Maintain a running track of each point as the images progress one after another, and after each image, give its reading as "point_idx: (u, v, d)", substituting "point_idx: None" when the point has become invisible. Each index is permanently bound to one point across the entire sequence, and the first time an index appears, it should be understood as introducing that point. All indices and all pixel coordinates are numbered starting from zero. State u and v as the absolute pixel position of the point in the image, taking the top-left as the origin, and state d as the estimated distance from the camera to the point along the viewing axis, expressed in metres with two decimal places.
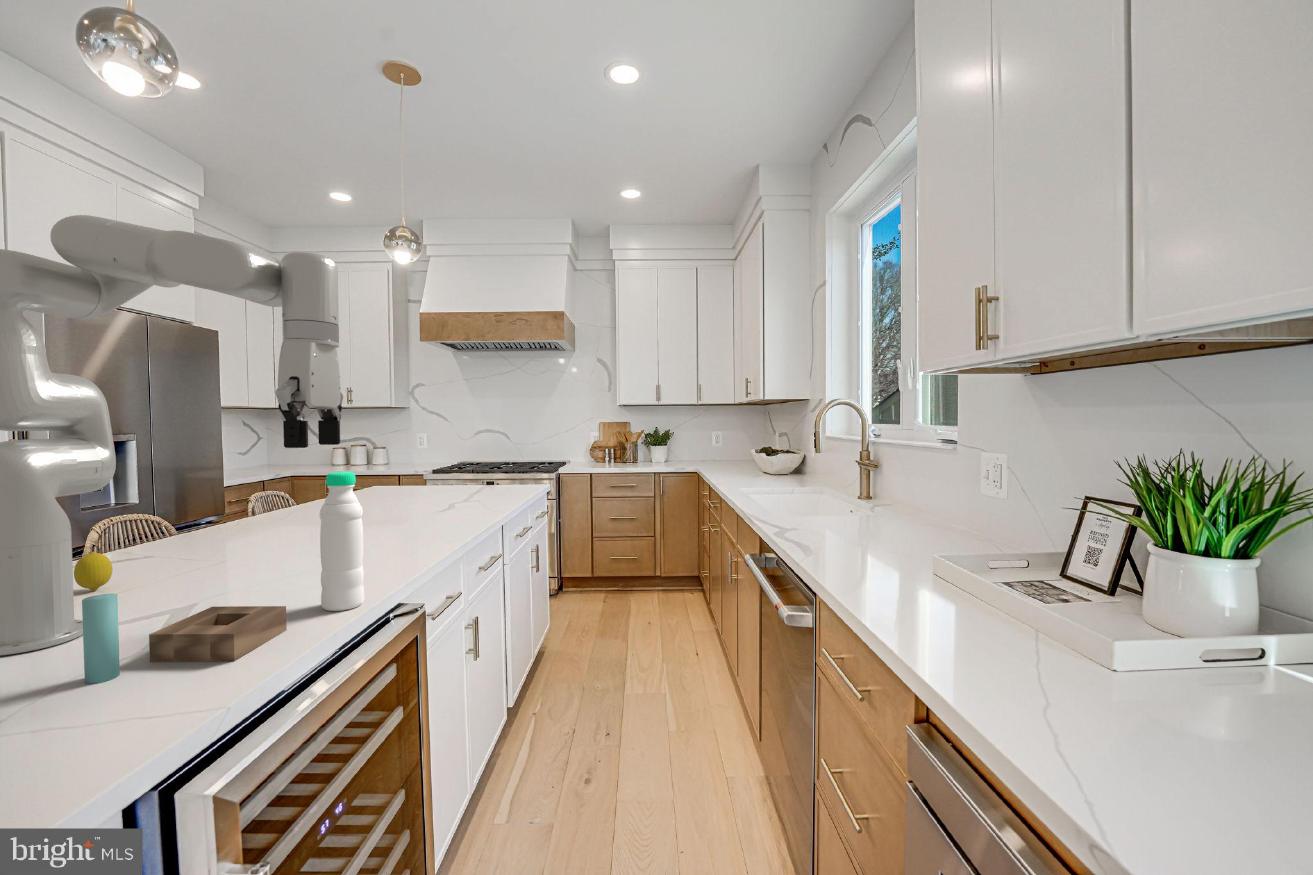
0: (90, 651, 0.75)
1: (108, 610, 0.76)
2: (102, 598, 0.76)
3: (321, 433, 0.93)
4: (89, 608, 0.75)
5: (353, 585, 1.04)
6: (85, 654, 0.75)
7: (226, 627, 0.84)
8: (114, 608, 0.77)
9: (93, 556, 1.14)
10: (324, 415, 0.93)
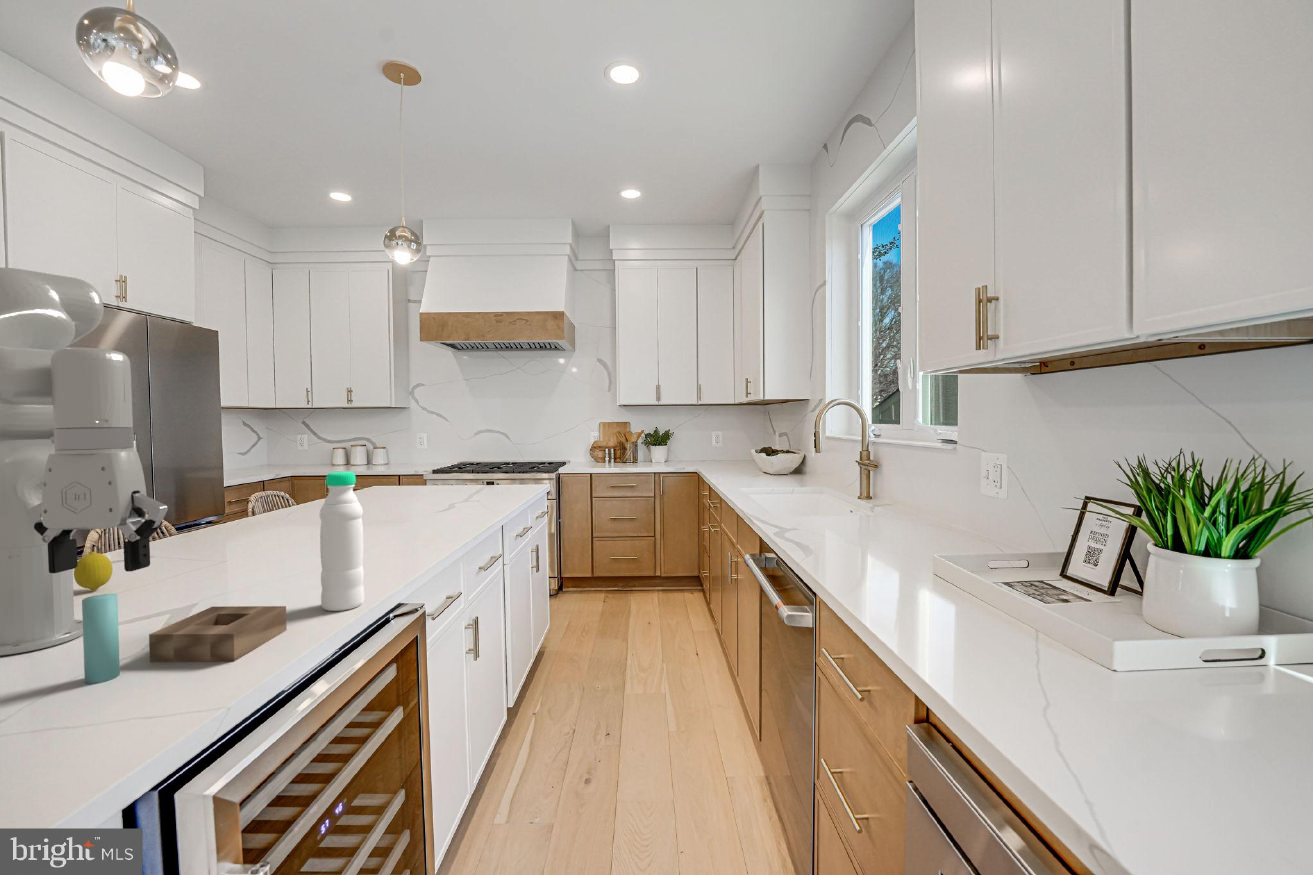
0: (90, 651, 0.75)
1: (109, 610, 0.76)
2: (102, 598, 0.76)
3: (58, 558, 0.75)
4: (89, 608, 0.75)
5: (353, 585, 1.04)
6: (85, 654, 0.75)
7: (226, 627, 0.84)
8: (114, 608, 0.77)
9: (93, 556, 1.14)
10: None
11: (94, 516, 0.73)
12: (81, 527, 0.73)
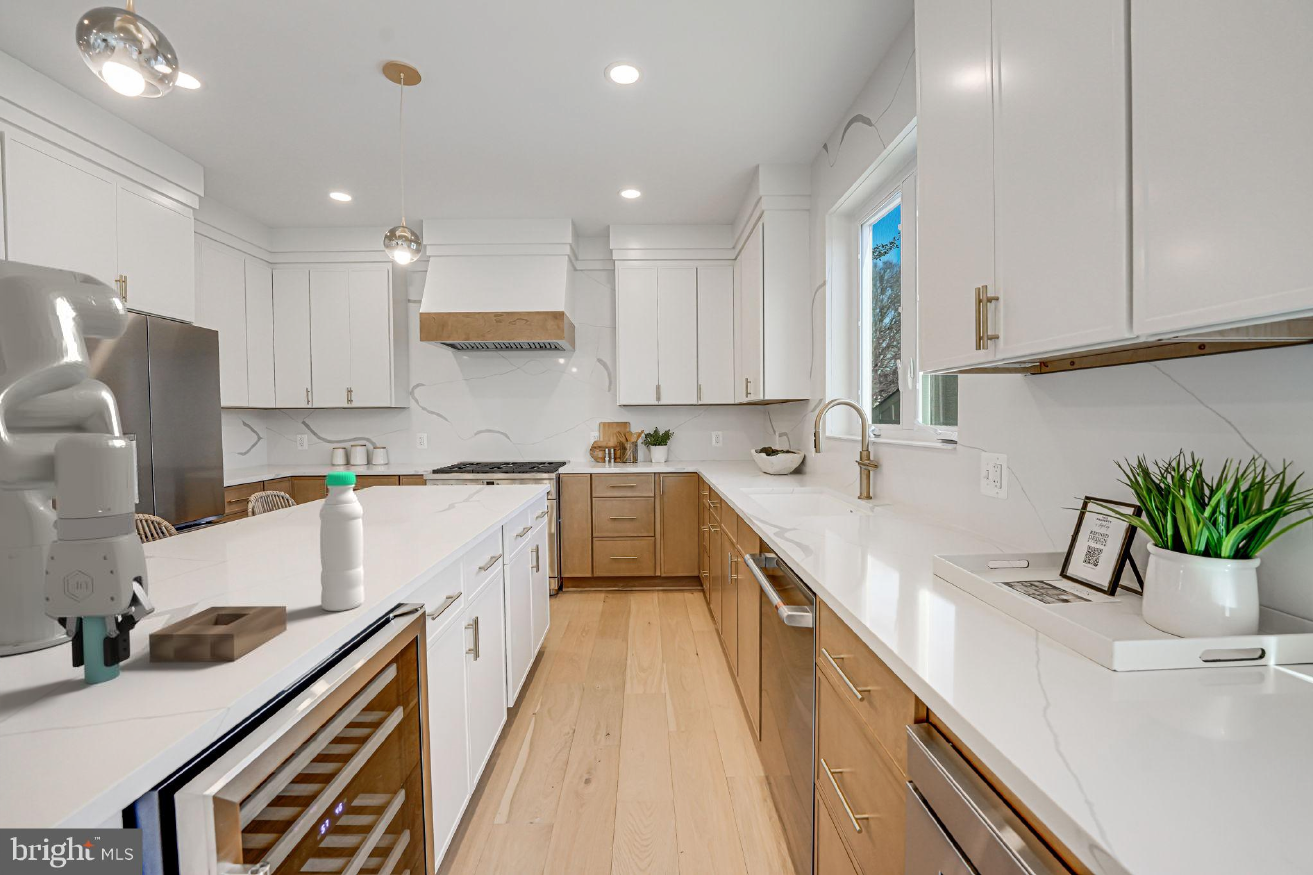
0: (90, 651, 0.75)
1: None
2: None
3: (81, 652, 0.75)
4: None
5: (353, 585, 1.04)
6: (85, 654, 0.75)
7: (226, 627, 0.84)
8: None
9: None
10: None
11: (96, 604, 0.74)
12: (83, 615, 0.74)
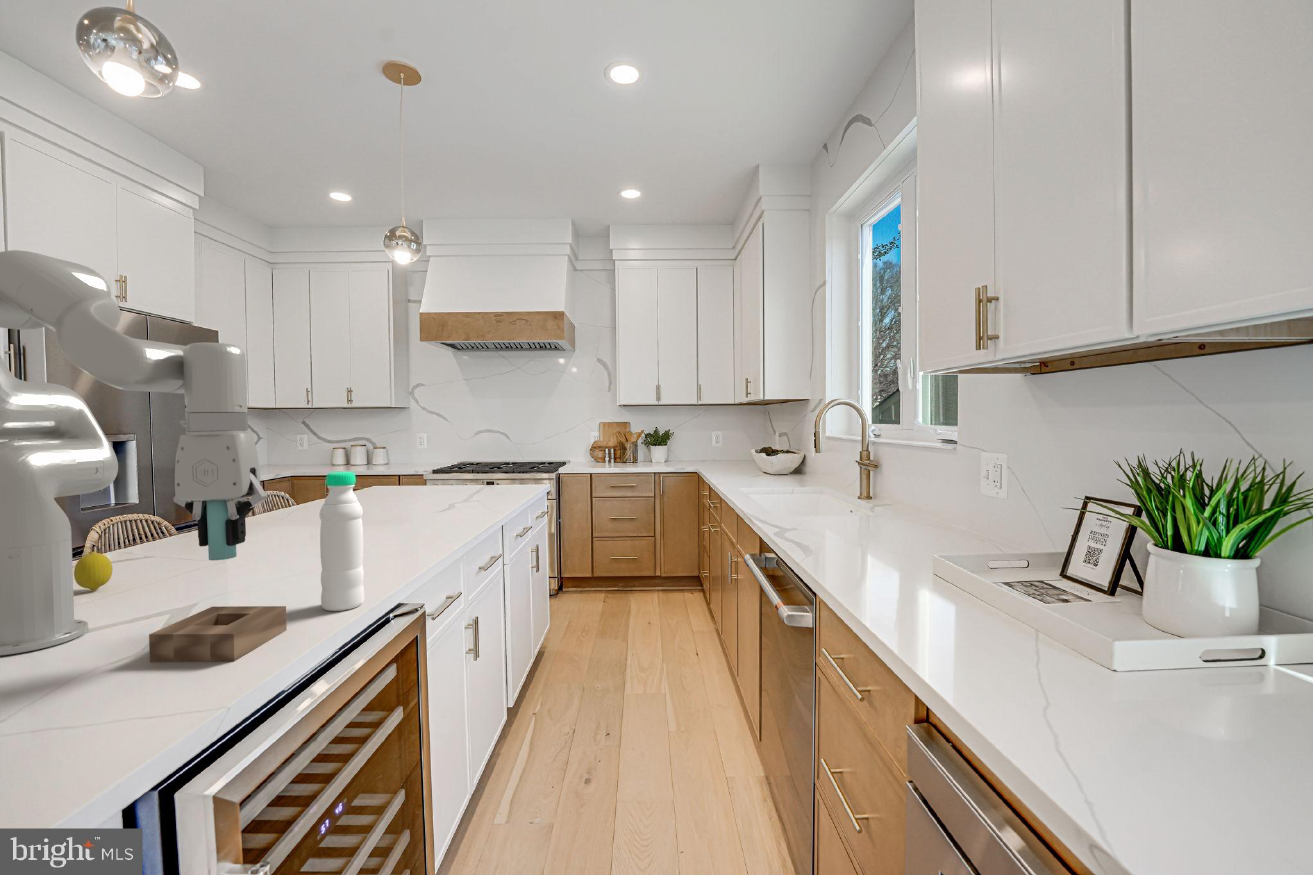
0: (214, 531, 0.85)
1: None
2: None
3: (206, 533, 0.86)
4: None
5: (353, 585, 1.04)
6: (209, 534, 0.86)
7: (226, 627, 0.84)
8: None
9: (93, 556, 1.14)
10: (202, 512, 0.86)
11: (220, 489, 0.84)
12: (209, 498, 0.84)
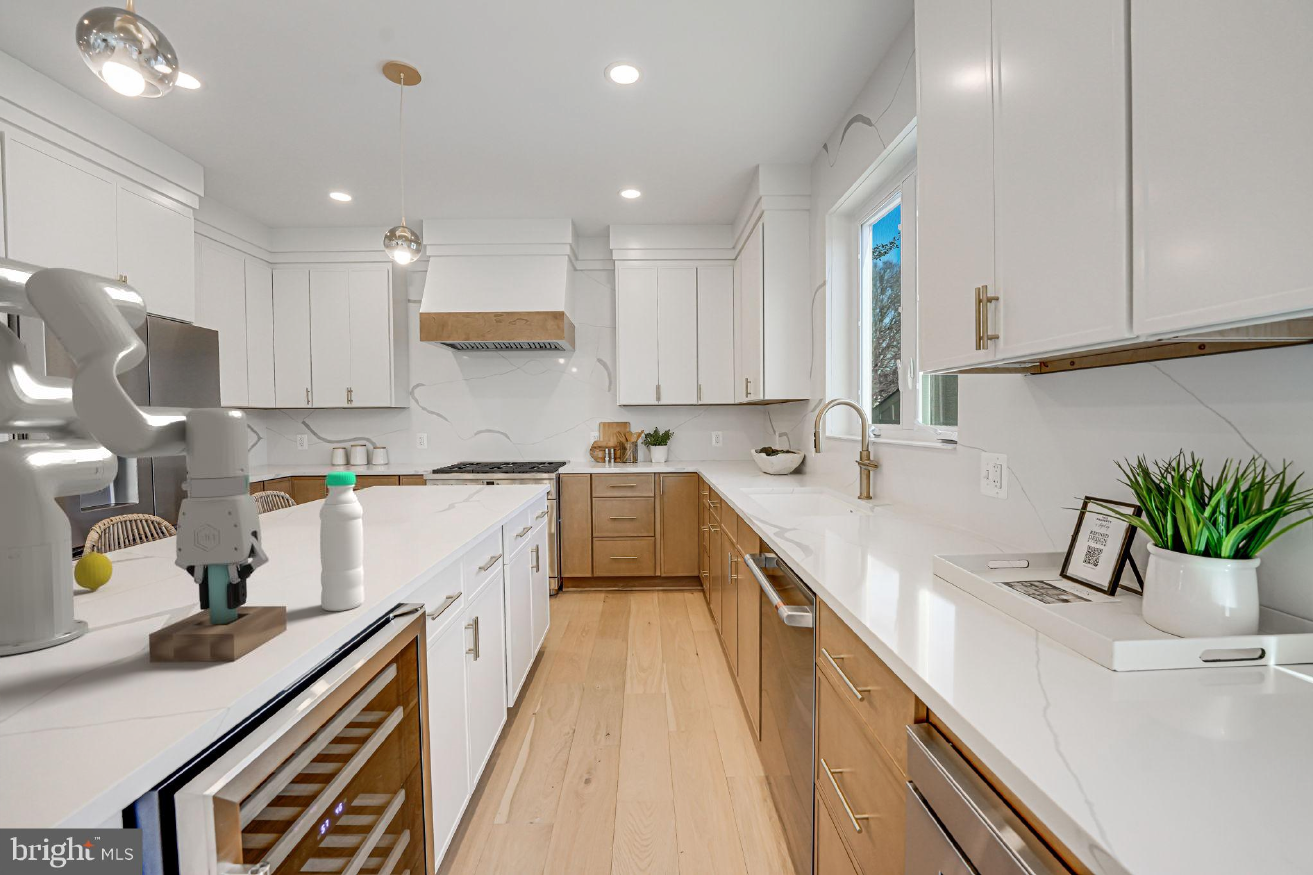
0: (215, 595, 0.86)
1: None
2: None
3: (207, 597, 0.87)
4: None
5: (353, 585, 1.04)
6: (211, 598, 0.86)
7: (226, 627, 0.84)
8: None
9: (93, 556, 1.14)
10: None
11: (222, 554, 0.85)
12: (211, 563, 0.85)
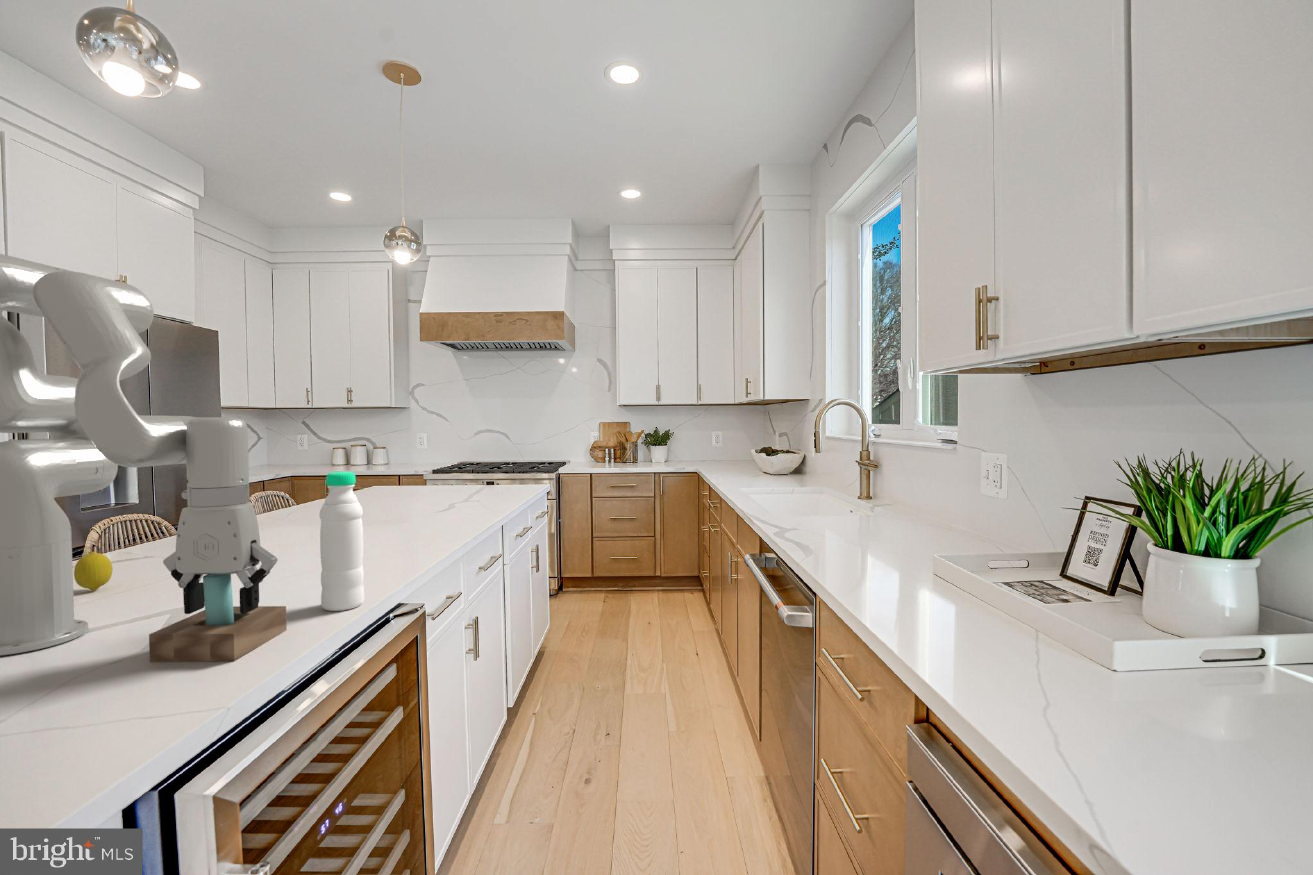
0: (212, 621, 0.86)
1: (225, 585, 0.87)
2: (219, 575, 0.87)
3: (191, 601, 0.87)
4: (210, 583, 0.86)
5: (353, 585, 1.04)
6: (208, 624, 0.86)
7: (226, 627, 0.84)
8: (229, 583, 0.88)
9: (93, 556, 1.14)
10: None
11: (221, 563, 0.85)
12: (209, 572, 0.85)
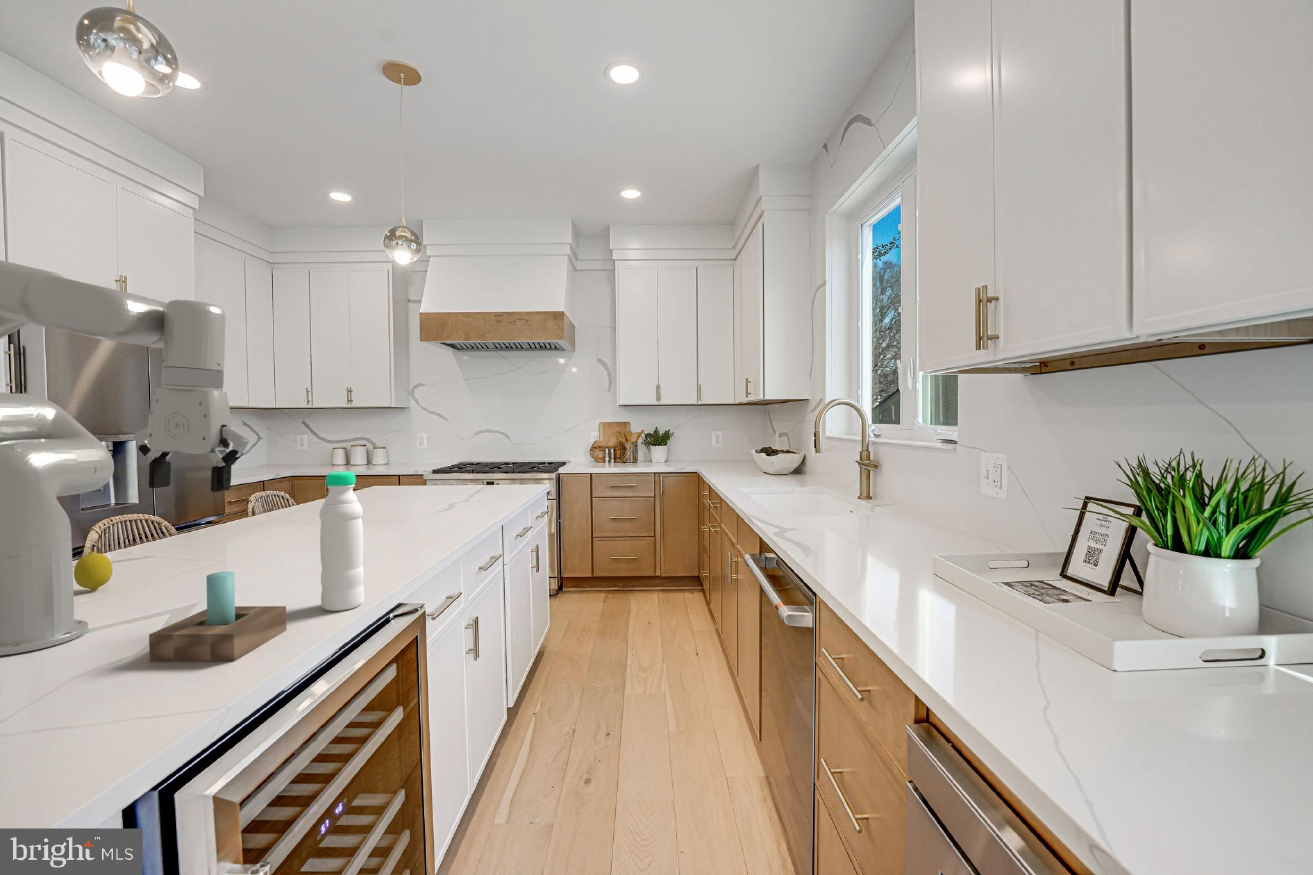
0: (214, 621, 0.86)
1: (228, 585, 0.87)
2: (223, 575, 0.87)
3: (156, 476, 0.89)
4: (213, 583, 0.86)
5: (353, 585, 1.04)
6: (209, 623, 0.86)
7: (226, 627, 0.84)
8: (232, 584, 0.88)
9: (93, 556, 1.14)
10: None
11: (190, 442, 0.87)
12: (179, 451, 0.87)
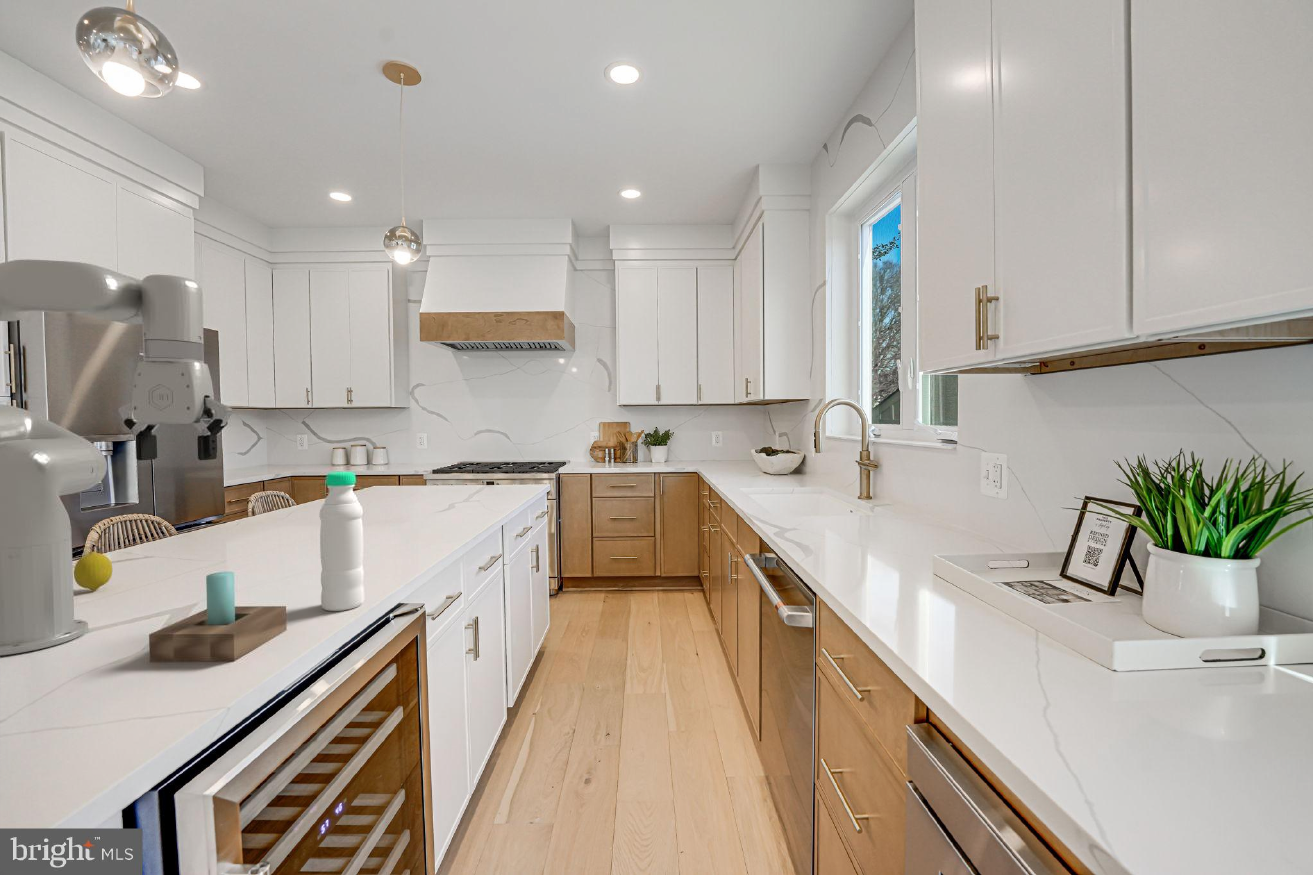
0: (214, 621, 0.86)
1: (228, 585, 0.87)
2: (223, 575, 0.87)
3: (143, 448, 0.91)
4: (213, 583, 0.86)
5: (353, 585, 1.04)
6: (209, 623, 0.86)
7: (226, 627, 0.84)
8: (232, 584, 0.88)
9: (93, 556, 1.14)
10: (142, 430, 0.92)
11: (175, 413, 0.90)
12: (164, 421, 0.90)
